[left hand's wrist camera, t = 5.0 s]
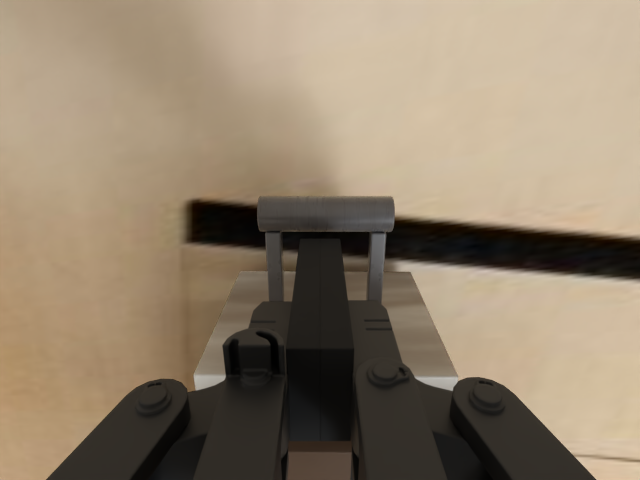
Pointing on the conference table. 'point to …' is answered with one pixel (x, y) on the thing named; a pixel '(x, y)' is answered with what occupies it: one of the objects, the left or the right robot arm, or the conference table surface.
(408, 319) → the drawer
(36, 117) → the conference table surface
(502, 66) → the conference table surface
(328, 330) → the left robot arm
